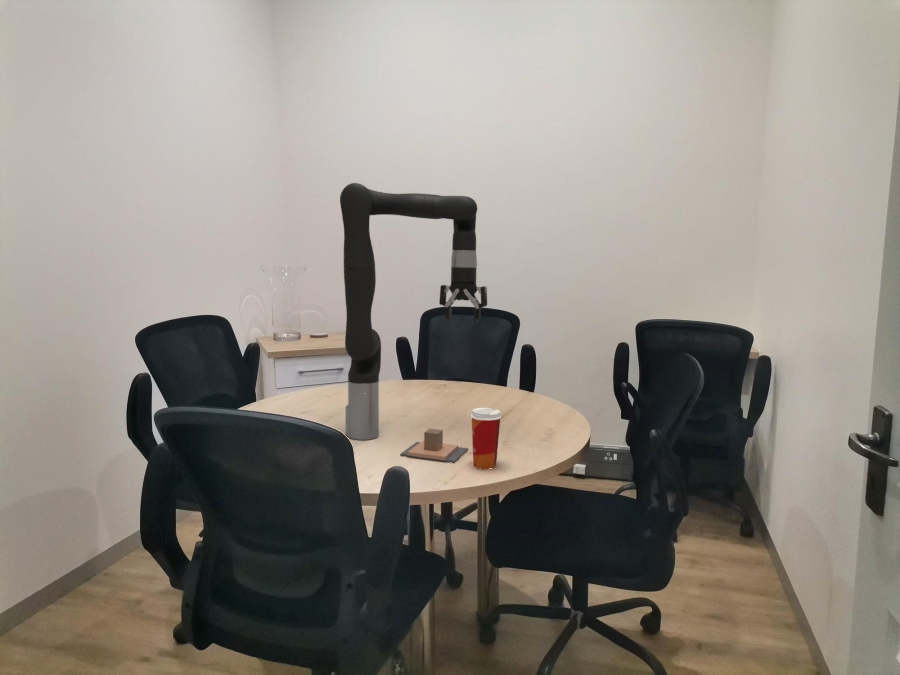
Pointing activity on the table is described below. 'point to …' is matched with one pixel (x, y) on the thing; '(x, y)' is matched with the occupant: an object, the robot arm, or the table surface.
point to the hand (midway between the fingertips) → (462, 320)
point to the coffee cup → (485, 437)
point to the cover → (433, 446)
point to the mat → (452, 458)
